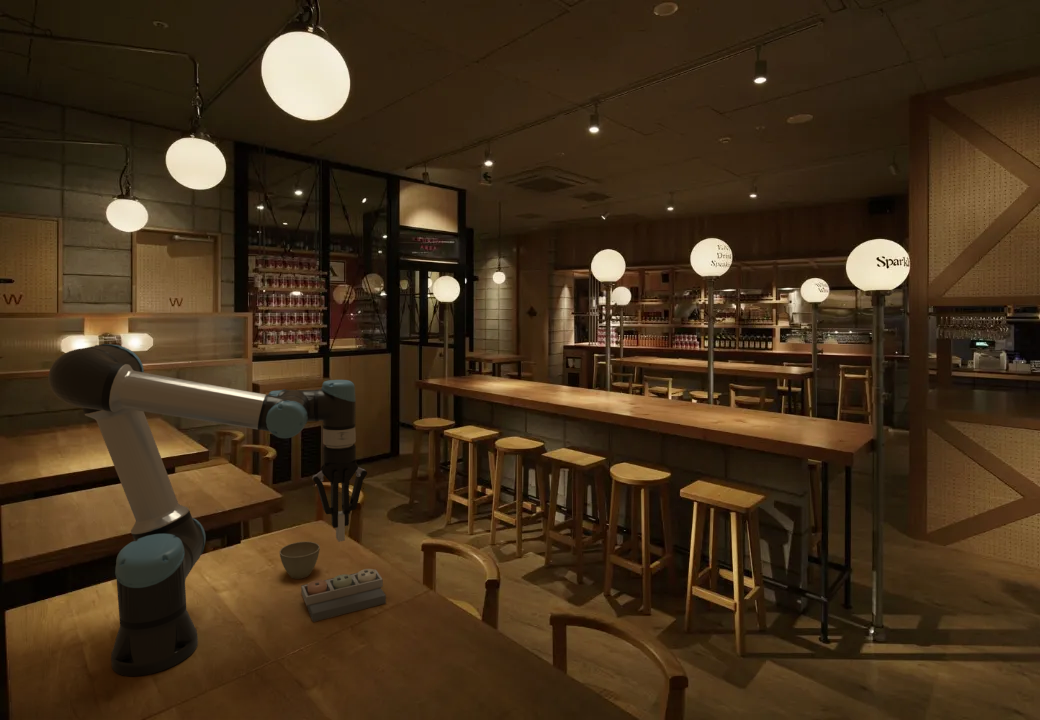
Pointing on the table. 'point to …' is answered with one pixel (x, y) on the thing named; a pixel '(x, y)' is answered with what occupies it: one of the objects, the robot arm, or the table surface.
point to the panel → (344, 598)
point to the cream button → (366, 575)
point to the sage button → (342, 581)
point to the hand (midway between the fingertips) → (340, 539)
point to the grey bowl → (299, 558)
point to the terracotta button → (317, 587)
